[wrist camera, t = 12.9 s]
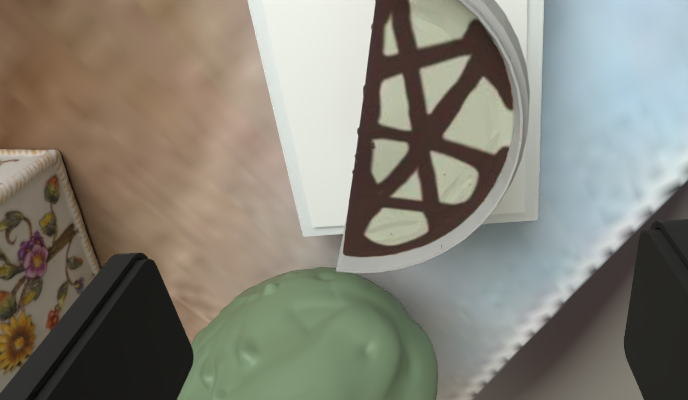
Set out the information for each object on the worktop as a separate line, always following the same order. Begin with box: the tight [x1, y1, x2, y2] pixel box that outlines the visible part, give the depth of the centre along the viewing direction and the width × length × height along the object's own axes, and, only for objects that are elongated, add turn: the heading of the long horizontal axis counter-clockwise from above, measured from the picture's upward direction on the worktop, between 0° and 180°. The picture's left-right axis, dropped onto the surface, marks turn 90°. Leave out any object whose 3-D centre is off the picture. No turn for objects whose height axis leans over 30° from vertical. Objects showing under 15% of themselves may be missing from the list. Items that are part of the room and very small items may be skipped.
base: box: [248, 0, 544, 237], centre depth 28 cm, size 14×20×4 cm
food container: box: [336, 0, 530, 273], centre depth 22 cm, size 12×6×10 cm, turn 174°
